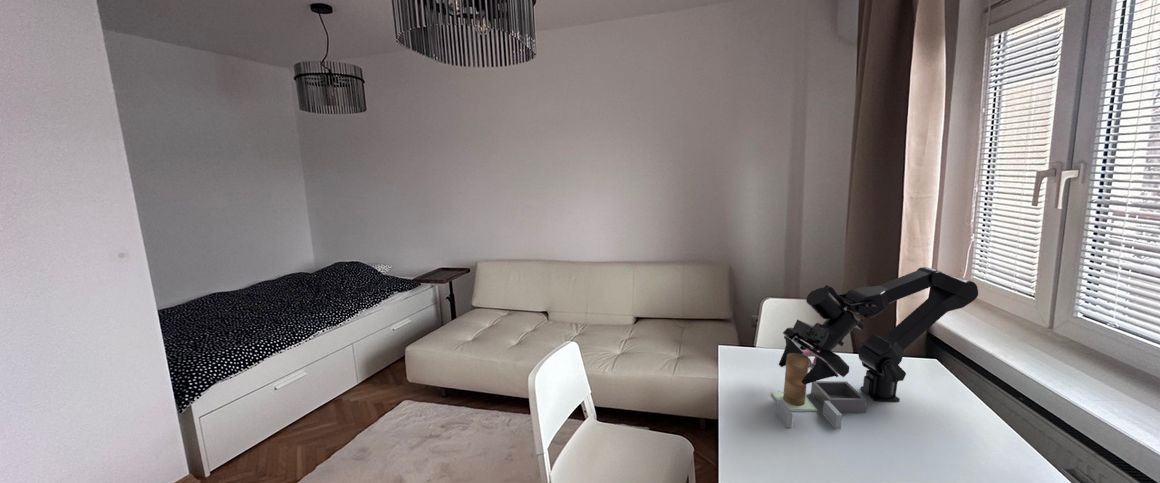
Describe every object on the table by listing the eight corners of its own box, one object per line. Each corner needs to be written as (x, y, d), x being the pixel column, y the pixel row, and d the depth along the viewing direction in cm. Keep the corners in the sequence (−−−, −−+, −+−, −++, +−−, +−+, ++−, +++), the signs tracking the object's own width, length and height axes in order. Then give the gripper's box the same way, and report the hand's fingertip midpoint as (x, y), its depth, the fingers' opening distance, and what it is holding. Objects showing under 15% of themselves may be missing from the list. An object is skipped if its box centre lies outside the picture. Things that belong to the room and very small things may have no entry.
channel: (827, 413, 108) (829, 400, 107) (840, 428, 102) (842, 414, 101) (776, 413, 108) (777, 400, 108) (786, 427, 102) (787, 414, 102)
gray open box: (845, 393, 116) (846, 381, 116) (865, 412, 108) (866, 400, 107) (810, 393, 117) (811, 381, 116) (827, 412, 108) (829, 399, 107)
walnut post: (804, 398, 114) (808, 355, 111) (804, 407, 109) (808, 363, 107) (783, 393, 116) (787, 351, 114) (782, 402, 112) (786, 359, 109)
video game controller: (828, 370, 132) (825, 346, 134) (835, 370, 128) (832, 346, 130) (794, 369, 133) (791, 346, 135) (800, 370, 129) (797, 345, 131)
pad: (802, 394, 117) (802, 392, 116) (816, 411, 109) (816, 409, 109) (771, 393, 117) (771, 392, 117) (783, 410, 109) (783, 409, 109)
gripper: (791, 298, 118) (751, 340, 118) (843, 324, 100) (795, 373, 100) (815, 324, 120) (776, 364, 121) (869, 353, 102) (823, 400, 103)
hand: (790, 374), depth 111 cm, fingers open, 9 cm apart
